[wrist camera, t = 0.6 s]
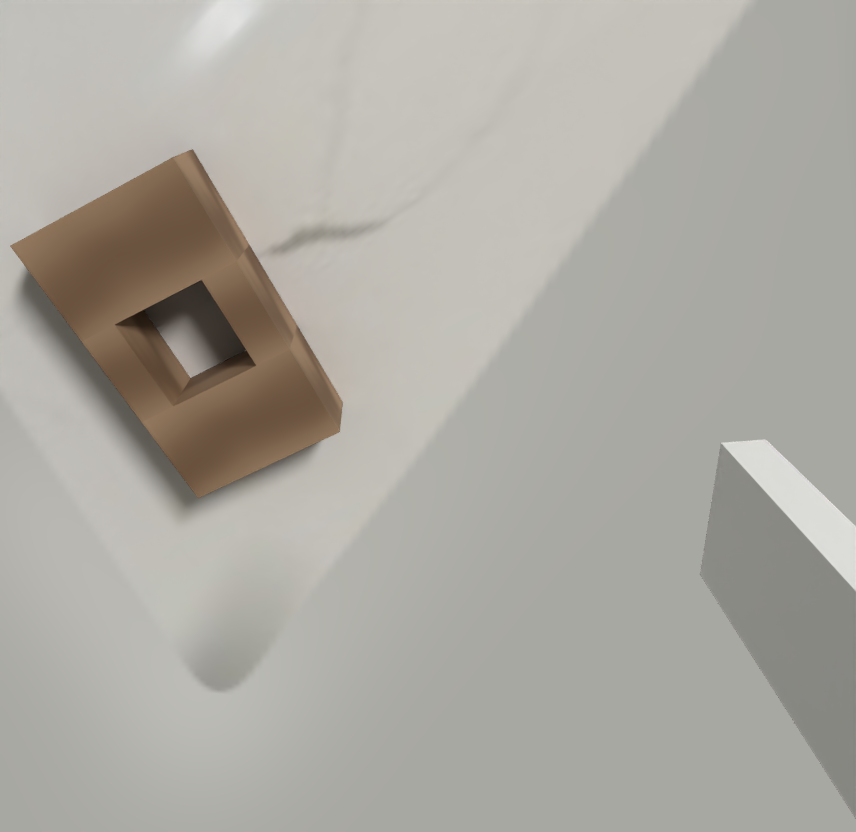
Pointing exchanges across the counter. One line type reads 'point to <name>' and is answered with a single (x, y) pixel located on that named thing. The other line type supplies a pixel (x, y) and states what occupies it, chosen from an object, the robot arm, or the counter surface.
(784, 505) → the robot arm
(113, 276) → the hole block
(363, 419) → the counter surface
